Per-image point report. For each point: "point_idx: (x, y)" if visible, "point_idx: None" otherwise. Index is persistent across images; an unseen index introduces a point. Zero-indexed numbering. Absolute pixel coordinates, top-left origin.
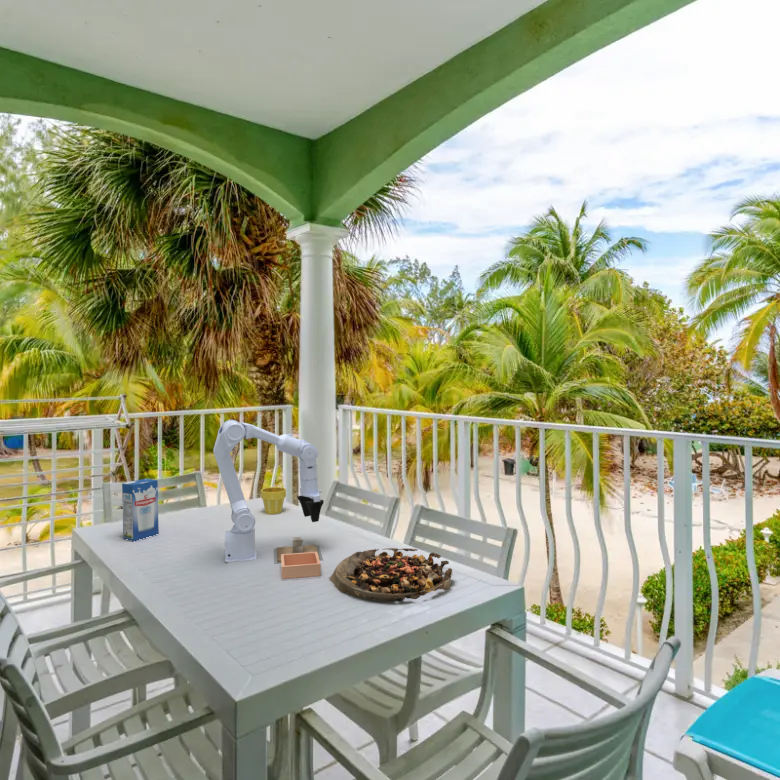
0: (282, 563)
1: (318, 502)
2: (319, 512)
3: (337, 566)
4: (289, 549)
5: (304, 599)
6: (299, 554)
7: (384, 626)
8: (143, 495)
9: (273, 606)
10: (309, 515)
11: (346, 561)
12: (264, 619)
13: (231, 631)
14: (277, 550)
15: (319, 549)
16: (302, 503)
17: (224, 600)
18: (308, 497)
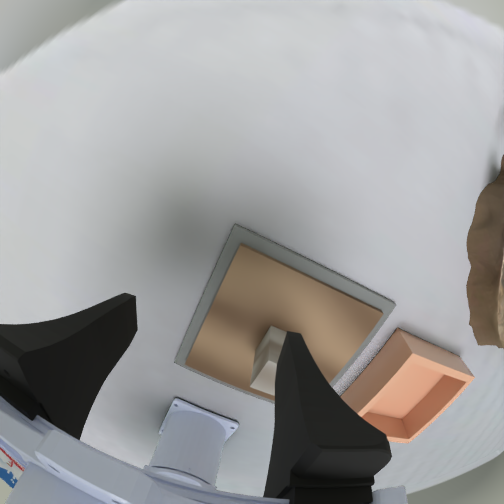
0: (394, 440)
1: (368, 478)
2: (323, 378)
3: (501, 338)
4: (230, 349)
5: (479, 404)
6: (378, 398)
7: None
8: (12, 468)
9: (452, 438)
10: (134, 306)
11: (502, 297)
12: (461, 446)
13: (445, 467)
14: (216, 377)
15: (286, 253)
16: (89, 399)
17: (378, 476)
18: (52, 392)
